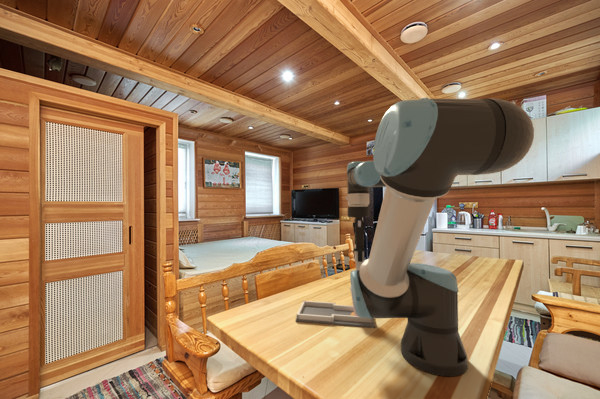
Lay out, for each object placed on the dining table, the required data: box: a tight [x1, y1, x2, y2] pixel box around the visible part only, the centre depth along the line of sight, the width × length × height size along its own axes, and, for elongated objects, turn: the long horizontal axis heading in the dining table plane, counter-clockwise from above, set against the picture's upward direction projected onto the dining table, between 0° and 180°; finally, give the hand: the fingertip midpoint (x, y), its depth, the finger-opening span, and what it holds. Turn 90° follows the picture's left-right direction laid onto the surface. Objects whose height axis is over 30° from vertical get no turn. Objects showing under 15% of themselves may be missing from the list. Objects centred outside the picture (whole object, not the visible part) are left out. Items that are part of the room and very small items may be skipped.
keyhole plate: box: [295, 300, 376, 329], centre depth 89 cm, size 14×26×2 cm, turn 79°
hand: (359, 266), depth 88 cm, fingers open, 13 cm apart
